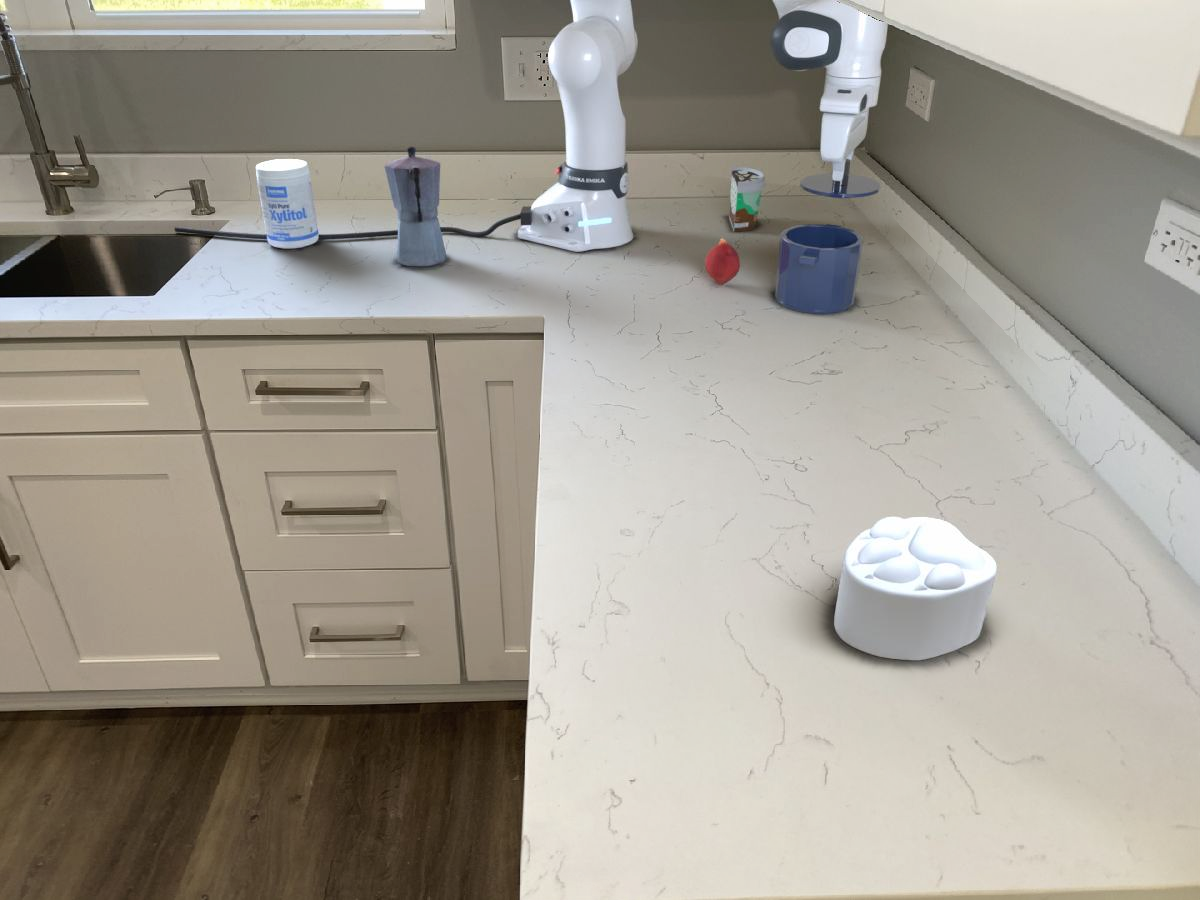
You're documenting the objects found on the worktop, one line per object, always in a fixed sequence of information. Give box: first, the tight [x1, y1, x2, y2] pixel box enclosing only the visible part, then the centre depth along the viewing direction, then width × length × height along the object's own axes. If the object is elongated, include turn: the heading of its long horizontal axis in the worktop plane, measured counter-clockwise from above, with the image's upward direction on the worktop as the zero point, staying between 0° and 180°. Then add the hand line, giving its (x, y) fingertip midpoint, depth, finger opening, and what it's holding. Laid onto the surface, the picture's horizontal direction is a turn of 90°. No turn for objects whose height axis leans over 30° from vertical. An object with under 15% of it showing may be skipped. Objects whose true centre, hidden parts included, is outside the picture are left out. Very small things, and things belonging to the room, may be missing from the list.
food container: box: [728, 166, 767, 232], centre depth 183 cm, size 12×6×10 cm, turn 179°
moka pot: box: [384, 146, 447, 267], centre depth 163 cm, size 10×15×20 cm, turn 18°
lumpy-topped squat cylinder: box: [833, 516, 998, 661], centre depth 82 cm, size 10×13×9 cm
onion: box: [704, 237, 741, 286], centre depth 155 cm, size 6×6×8 cm
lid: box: [799, 159, 882, 199], centre depth 160 cm, size 14×14×5 cm
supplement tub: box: [255, 158, 320, 250], centre depth 174 cm, size 10×10×15 cm
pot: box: [774, 223, 864, 315], centre depth 149 cm, size 13×18×10 cm
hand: (840, 177), depth 160 cm, fingers closed on lid, 2 cm apart
